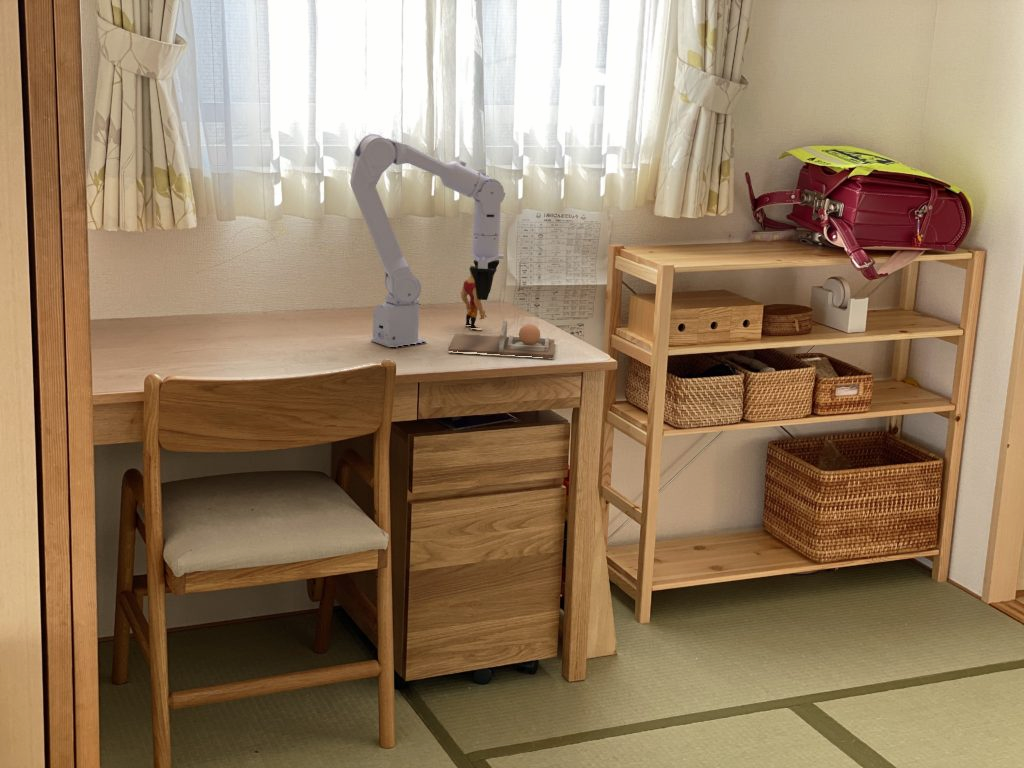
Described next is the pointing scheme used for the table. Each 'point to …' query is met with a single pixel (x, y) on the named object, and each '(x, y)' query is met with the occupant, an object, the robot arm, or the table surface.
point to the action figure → (471, 301)
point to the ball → (529, 334)
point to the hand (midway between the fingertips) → (483, 296)
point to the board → (502, 345)
